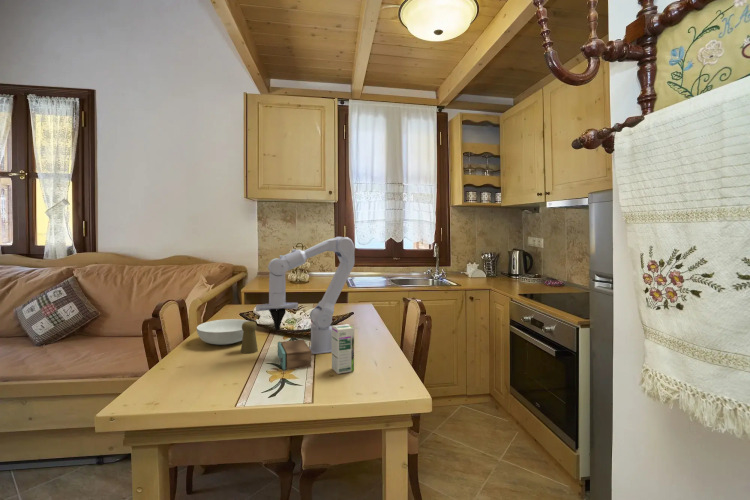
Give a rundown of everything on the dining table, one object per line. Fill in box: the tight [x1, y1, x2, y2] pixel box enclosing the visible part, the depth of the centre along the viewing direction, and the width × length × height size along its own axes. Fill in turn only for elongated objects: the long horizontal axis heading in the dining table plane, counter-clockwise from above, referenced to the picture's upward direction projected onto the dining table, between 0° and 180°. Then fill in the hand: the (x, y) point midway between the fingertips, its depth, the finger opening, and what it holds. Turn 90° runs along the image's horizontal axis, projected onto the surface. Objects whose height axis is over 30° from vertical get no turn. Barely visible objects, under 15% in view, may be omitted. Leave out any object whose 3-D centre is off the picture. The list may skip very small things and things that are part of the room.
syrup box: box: [331, 323, 355, 375], centre depth 117 cm, size 6×6×14 cm
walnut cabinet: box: [281, 339, 312, 371], centre depth 124 cm, size 8×13×6 cm, turn 23°
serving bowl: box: [196, 318, 249, 346], centre depth 144 cm, size 21×21×7 cm
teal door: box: [277, 341, 286, 371], centre depth 122 cm, size 2×13×5 cm, turn 22°
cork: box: [240, 320, 258, 355], centre depth 133 cm, size 6×6×11 cm
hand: (277, 329), depth 129 cm, fingers closed
